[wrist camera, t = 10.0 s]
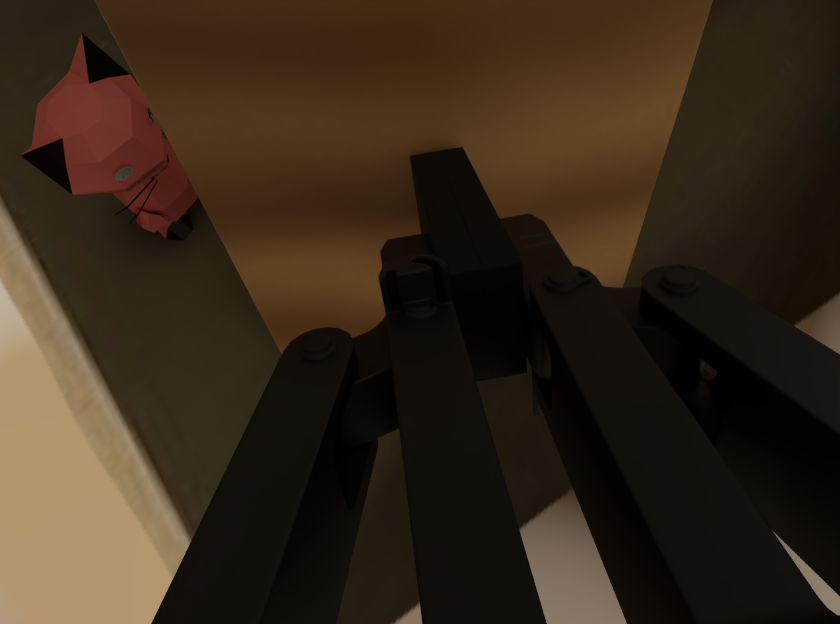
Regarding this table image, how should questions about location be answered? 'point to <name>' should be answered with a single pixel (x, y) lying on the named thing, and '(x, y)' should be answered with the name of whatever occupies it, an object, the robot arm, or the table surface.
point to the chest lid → (406, 126)
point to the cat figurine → (111, 144)
